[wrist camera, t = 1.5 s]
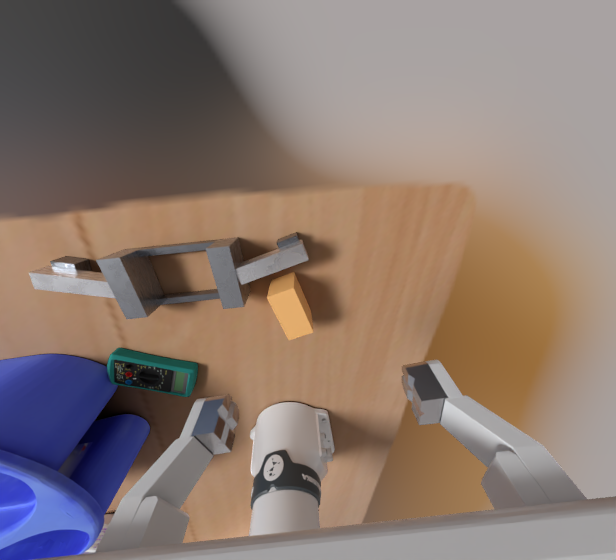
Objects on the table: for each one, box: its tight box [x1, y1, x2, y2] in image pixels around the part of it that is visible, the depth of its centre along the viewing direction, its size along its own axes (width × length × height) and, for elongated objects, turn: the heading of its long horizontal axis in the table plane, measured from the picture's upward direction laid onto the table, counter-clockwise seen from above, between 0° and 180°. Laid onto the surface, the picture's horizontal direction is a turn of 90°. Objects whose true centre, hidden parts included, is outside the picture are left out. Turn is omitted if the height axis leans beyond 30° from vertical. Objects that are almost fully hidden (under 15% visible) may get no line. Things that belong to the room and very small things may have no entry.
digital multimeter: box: [107, 348, 198, 397], centre depth 41 cm, size 7×15×3 cm, turn 72°
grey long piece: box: [29, 232, 309, 319], centre depth 32 cm, size 37×9×5 cm, turn 95°
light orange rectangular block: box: [267, 272, 313, 340], centre depth 34 cm, size 8×4×6 cm, turn 20°
